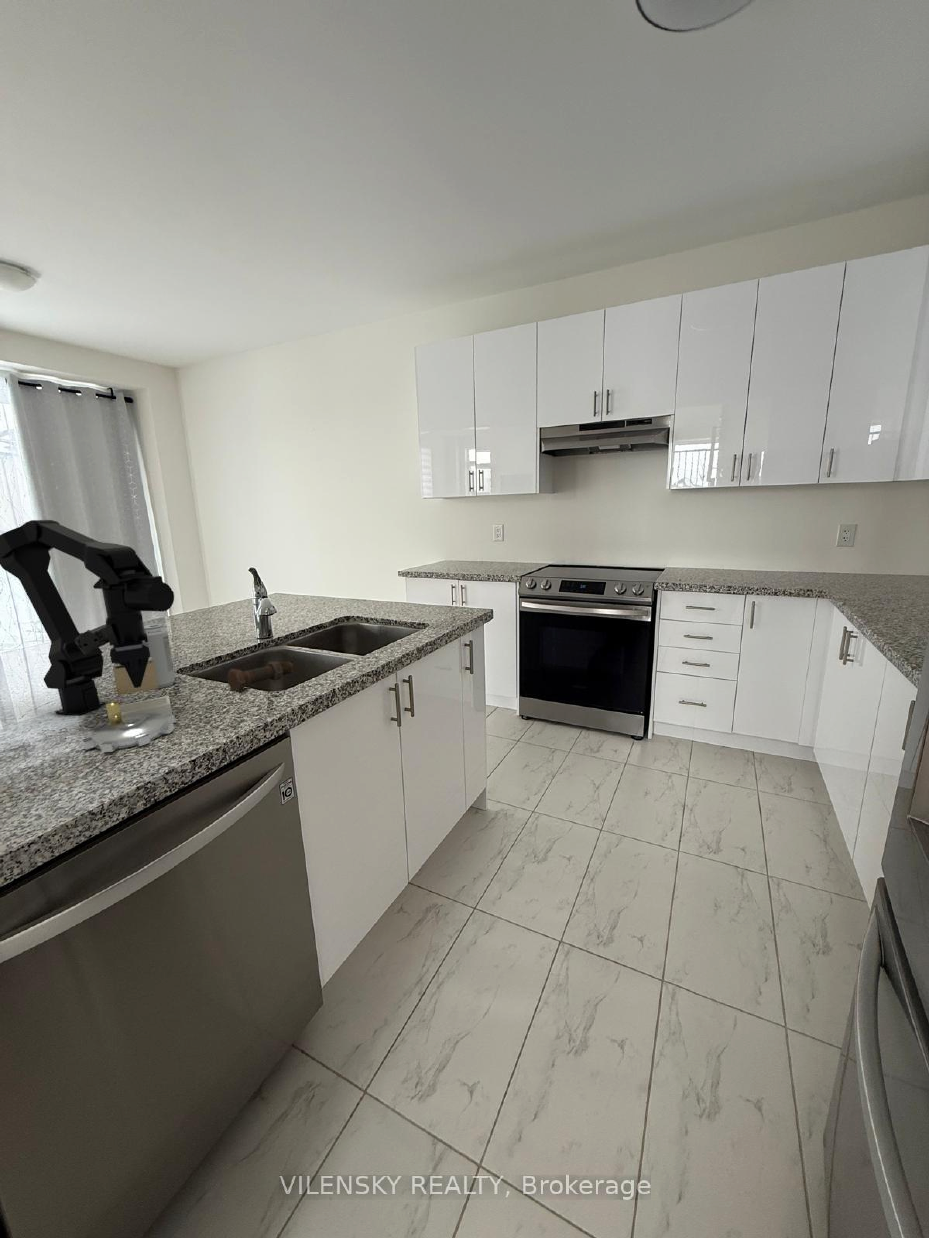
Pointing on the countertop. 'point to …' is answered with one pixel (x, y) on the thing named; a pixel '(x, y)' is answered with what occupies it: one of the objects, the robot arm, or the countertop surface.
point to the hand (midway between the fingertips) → (137, 684)
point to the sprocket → (127, 729)
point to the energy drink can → (160, 654)
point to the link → (125, 682)
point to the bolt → (258, 674)
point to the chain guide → (147, 707)
